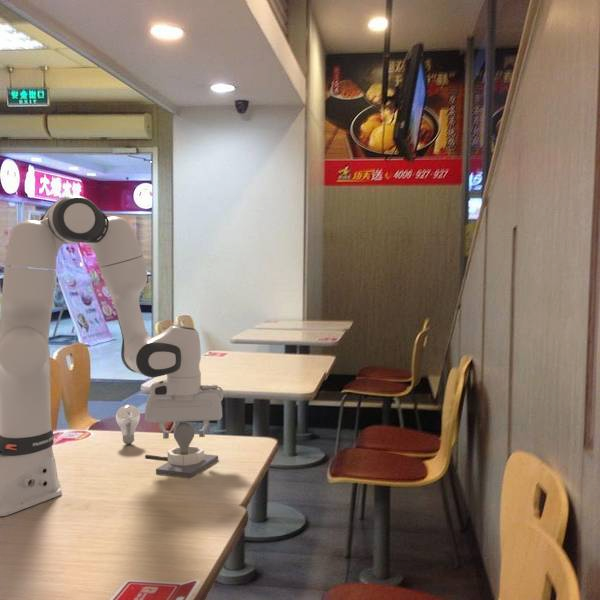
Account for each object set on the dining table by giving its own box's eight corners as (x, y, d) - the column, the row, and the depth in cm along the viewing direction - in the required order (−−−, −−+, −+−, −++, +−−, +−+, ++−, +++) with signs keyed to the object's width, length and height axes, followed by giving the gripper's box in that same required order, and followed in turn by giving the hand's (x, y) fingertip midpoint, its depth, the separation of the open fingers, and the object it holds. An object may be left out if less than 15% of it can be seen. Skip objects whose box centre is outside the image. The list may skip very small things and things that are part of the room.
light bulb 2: (185, 455, 170) (185, 419, 170) (198, 459, 167) (198, 422, 166) (169, 460, 166) (169, 423, 165) (183, 464, 162) (183, 426, 162)
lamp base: (190, 477, 156) (190, 463, 156) (123, 469, 162) (122, 455, 162) (218, 459, 170) (217, 446, 170) (154, 452, 177) (154, 440, 176)
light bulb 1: (116, 449, 181) (115, 408, 180) (116, 442, 187) (115, 403, 187) (140, 447, 182) (140, 406, 182) (140, 440, 189) (139, 401, 188)
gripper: (222, 382, 170) (222, 432, 171) (145, 384, 166) (146, 435, 167) (224, 387, 164) (223, 438, 165) (144, 389, 160) (144, 442, 161)
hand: (184, 437), depth 166 cm, fingers open, 8 cm apart
